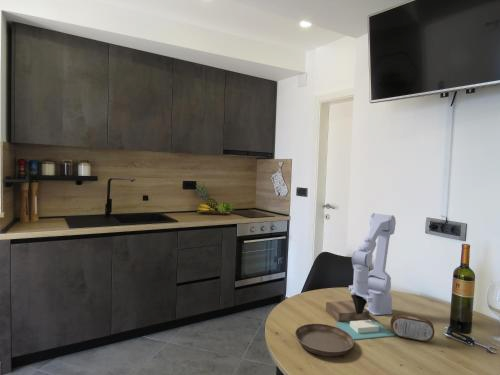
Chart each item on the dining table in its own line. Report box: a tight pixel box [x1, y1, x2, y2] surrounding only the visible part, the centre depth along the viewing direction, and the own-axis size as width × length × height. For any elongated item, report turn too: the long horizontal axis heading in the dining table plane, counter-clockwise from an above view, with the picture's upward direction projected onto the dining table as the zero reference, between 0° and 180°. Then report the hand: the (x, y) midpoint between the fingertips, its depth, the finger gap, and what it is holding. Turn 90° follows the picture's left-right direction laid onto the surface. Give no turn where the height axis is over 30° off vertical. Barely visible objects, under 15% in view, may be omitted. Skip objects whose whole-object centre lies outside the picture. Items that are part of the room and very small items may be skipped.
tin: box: [390, 313, 435, 343], centre depth 127 cm, size 15×3×8 cm, turn 71°
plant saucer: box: [294, 323, 355, 357], centre depth 121 cm, size 21×21×3 cm
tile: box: [350, 319, 379, 333], centre depth 133 cm, size 9×6×2 cm, turn 103°
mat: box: [334, 319, 396, 341], centre depth 134 cm, size 18×14×1 cm
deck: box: [325, 300, 370, 322], centre depth 146 cm, size 14×12×4 cm
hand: (359, 313), depth 137 cm, fingers closed
